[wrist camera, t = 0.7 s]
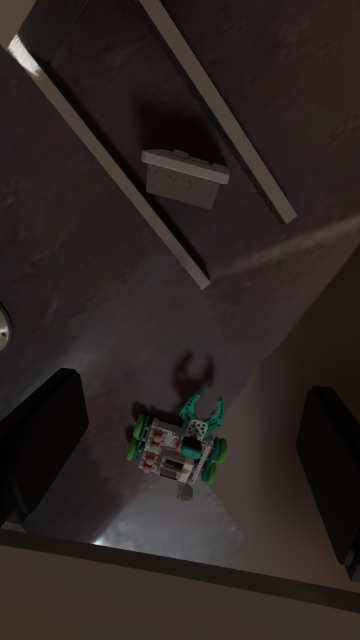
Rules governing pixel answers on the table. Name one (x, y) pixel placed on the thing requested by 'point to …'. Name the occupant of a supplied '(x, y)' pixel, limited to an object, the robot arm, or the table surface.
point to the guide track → (34, 54)
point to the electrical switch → (183, 177)
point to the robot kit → (181, 447)
